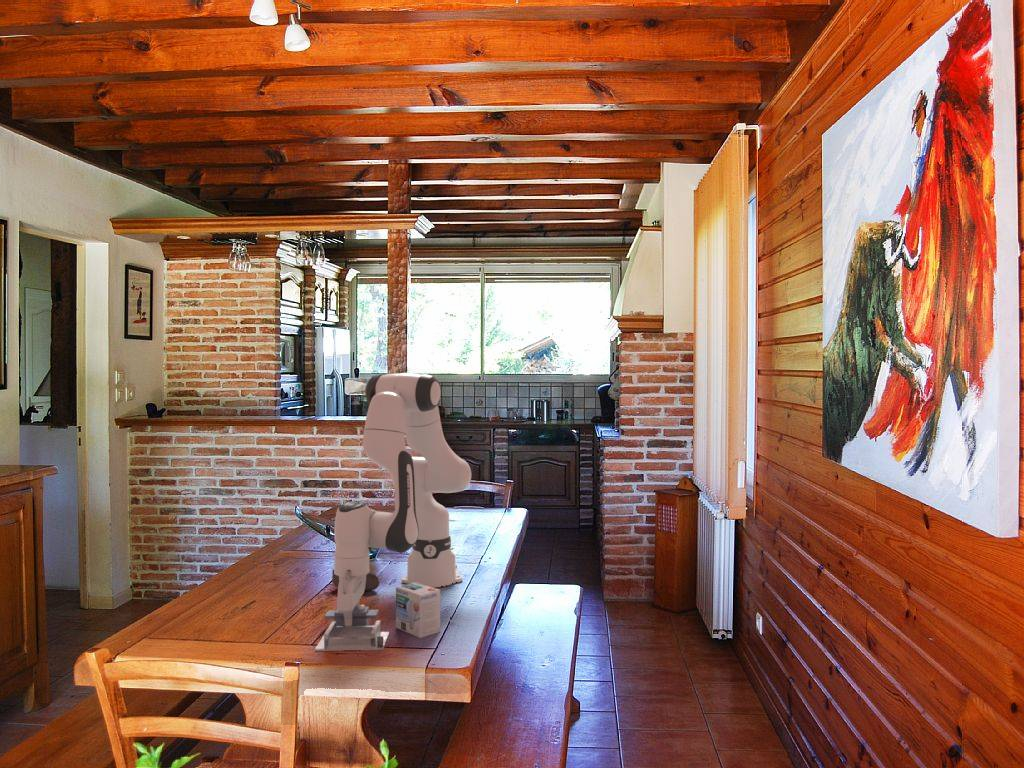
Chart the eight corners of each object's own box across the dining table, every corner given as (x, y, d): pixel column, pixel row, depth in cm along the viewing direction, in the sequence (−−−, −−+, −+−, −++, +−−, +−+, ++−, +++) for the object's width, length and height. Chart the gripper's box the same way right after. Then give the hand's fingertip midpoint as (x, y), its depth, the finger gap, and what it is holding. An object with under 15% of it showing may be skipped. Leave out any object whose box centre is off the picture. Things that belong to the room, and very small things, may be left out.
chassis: (325, 634, 190) (325, 620, 190) (389, 633, 190) (389, 619, 190) (314, 651, 179) (314, 635, 179) (382, 650, 179) (382, 634, 179)
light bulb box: (394, 628, 195) (394, 586, 194) (416, 621, 199) (415, 581, 199) (420, 638, 187) (420, 595, 187) (441, 631, 192) (441, 589, 191)
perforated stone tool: (383, 590, 228) (383, 567, 228) (374, 595, 224) (374, 571, 223) (340, 585, 234) (339, 563, 233) (330, 590, 229) (330, 567, 228)
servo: (328, 626, 196) (328, 603, 196) (378, 625, 197) (378, 602, 197) (324, 632, 192) (324, 609, 192) (376, 631, 192) (375, 608, 192)
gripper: (357, 576, 183) (357, 633, 183) (370, 557, 204) (370, 609, 204) (331, 576, 183) (330, 633, 183) (346, 557, 204) (346, 609, 203)
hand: (351, 620), depth 193 cm, fingers open, 6 cm apart
